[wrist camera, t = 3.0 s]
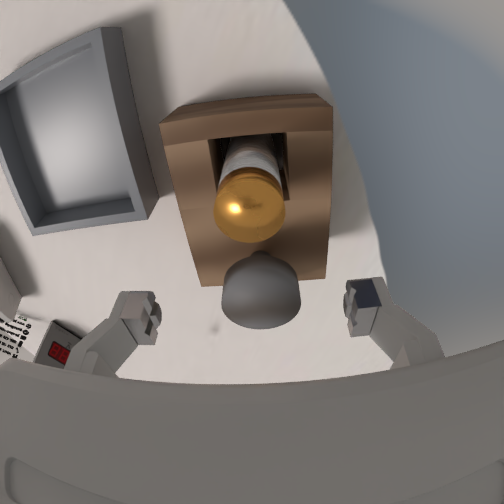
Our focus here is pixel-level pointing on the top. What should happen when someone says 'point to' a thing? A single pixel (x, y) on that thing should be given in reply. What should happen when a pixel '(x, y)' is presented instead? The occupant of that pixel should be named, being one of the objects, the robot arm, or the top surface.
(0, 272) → the black-striped white block
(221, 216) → the gold-capped glass vial
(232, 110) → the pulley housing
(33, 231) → the tray
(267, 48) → the top surface
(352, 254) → the top surface
